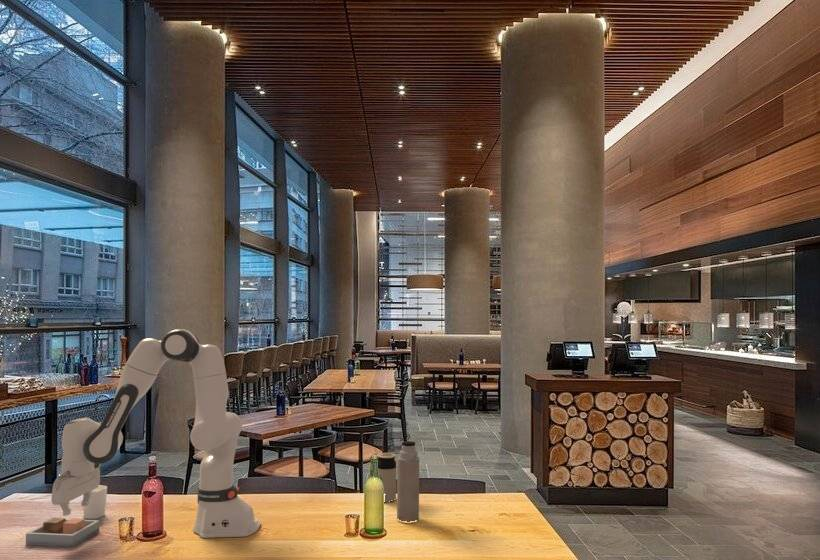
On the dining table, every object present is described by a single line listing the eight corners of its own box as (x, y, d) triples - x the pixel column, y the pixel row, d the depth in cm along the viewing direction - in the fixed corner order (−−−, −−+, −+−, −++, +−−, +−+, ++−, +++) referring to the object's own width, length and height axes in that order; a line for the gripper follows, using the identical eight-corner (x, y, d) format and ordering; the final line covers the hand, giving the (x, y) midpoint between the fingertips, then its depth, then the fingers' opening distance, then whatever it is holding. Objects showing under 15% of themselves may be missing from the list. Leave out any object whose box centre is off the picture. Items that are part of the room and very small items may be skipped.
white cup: (95, 520, 214) (96, 492, 215) (76, 518, 216) (77, 490, 216) (111, 513, 222) (112, 486, 222) (92, 511, 223) (93, 484, 224)
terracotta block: (84, 532, 199) (84, 518, 200) (75, 537, 195) (76, 523, 195) (71, 532, 200) (72, 518, 200) (62, 537, 195) (63, 523, 196)
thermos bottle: (392, 519, 218) (393, 441, 219) (410, 514, 223) (410, 438, 224) (405, 525, 211) (406, 445, 213) (423, 520, 216) (423, 442, 218)
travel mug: (391, 496, 245) (392, 451, 246) (398, 501, 238) (399, 456, 239) (373, 498, 242) (373, 453, 243) (380, 504, 235) (380, 457, 236)
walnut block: (64, 531, 200) (65, 518, 200) (55, 536, 195) (56, 522, 196) (52, 531, 200) (52, 517, 201) (42, 536, 196) (43, 522, 196)
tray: (99, 530, 204) (99, 520, 204) (72, 546, 190) (72, 535, 190) (55, 529, 205) (55, 518, 205) (25, 544, 191) (26, 533, 191)
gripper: (65, 476, 188) (64, 521, 187) (103, 460, 208) (103, 500, 207) (46, 476, 188) (45, 520, 187) (86, 460, 209) (86, 500, 208)
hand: (76, 510), depth 197 cm, fingers open, 8 cm apart
